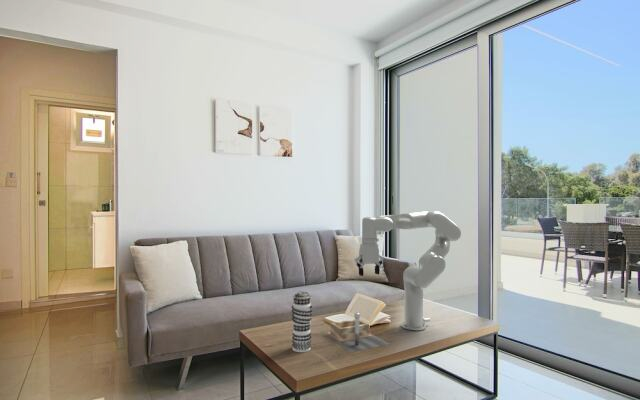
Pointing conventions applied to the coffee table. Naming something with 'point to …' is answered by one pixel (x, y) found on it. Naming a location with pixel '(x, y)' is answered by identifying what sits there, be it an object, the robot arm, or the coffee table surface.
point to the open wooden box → (348, 329)
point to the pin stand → (358, 339)
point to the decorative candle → (301, 322)
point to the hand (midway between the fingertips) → (369, 274)
